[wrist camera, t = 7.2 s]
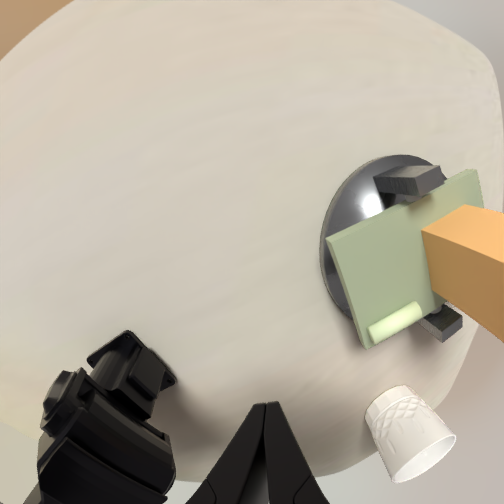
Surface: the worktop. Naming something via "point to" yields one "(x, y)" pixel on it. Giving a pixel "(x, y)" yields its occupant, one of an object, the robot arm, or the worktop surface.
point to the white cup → (407, 433)
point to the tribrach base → (371, 203)
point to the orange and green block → (424, 261)
